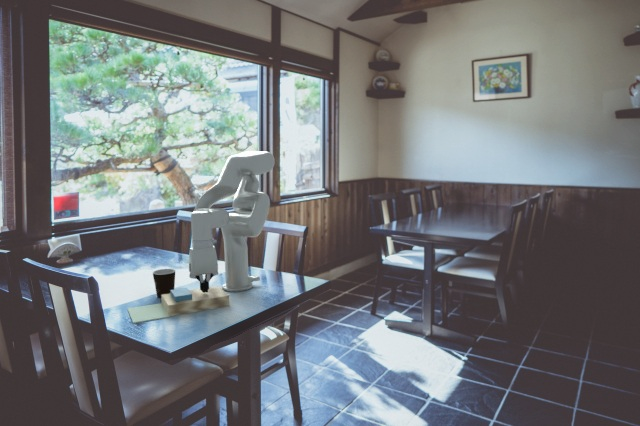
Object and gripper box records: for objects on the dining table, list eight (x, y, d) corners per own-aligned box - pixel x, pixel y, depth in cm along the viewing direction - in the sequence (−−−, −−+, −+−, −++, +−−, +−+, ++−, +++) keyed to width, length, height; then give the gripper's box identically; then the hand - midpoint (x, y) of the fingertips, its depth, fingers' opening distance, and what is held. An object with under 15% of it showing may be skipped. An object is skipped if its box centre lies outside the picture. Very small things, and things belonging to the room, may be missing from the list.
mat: (161, 304, 185) (161, 303, 185) (169, 317, 171) (169, 316, 170) (127, 309, 179) (127, 308, 179) (133, 323, 165) (133, 322, 165)
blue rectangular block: (186, 292, 185) (186, 287, 185) (192, 299, 177) (192, 294, 177) (170, 295, 182) (170, 290, 182) (175, 302, 174) (175, 296, 174)
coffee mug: (173, 299, 190) (171, 274, 189) (151, 299, 190) (149, 274, 189) (181, 290, 202) (180, 266, 200) (160, 290, 202) (159, 267, 200)
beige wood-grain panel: (218, 295, 194) (218, 286, 193) (229, 305, 182) (229, 295, 181) (161, 304, 184) (161, 294, 183) (168, 316, 171) (168, 305, 171)
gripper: (219, 240, 188) (221, 286, 190) (180, 244, 181) (182, 292, 183) (225, 243, 181) (227, 291, 184) (184, 247, 174) (187, 297, 177)
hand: (204, 291), depth 183 cm, fingers closed
